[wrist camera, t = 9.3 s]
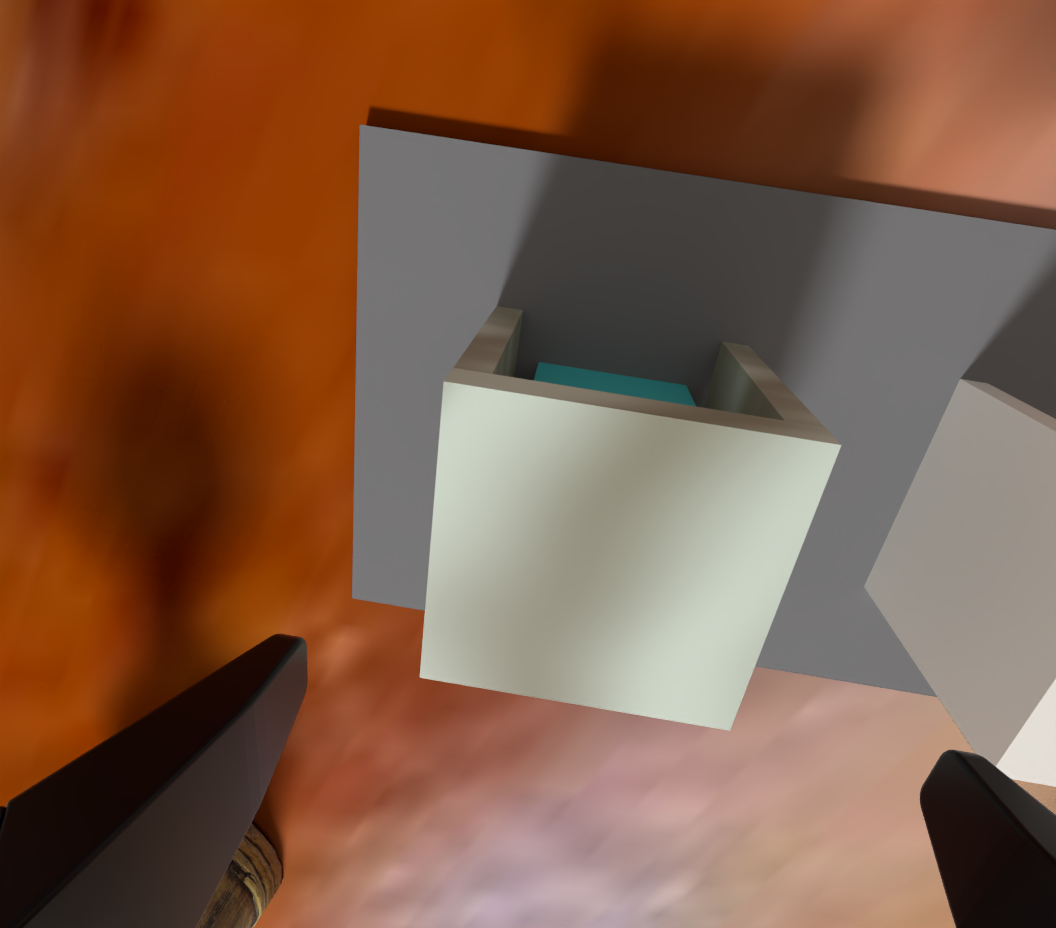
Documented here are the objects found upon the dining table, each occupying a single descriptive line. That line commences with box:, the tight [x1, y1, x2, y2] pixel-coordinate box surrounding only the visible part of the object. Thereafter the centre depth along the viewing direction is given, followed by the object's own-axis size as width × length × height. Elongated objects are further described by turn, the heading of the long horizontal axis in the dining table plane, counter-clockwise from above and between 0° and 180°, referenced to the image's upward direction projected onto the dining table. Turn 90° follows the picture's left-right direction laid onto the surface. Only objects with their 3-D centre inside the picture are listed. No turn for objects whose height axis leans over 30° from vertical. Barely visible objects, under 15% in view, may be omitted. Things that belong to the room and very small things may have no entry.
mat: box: [352, 125, 1056, 697], centre depth 17 cm, size 26×14×1 cm, turn 82°
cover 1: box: [420, 306, 841, 731], centre depth 15 cm, size 7×7×6 cm
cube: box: [534, 362, 696, 406], centre depth 16 cm, size 4×4×4 cm
